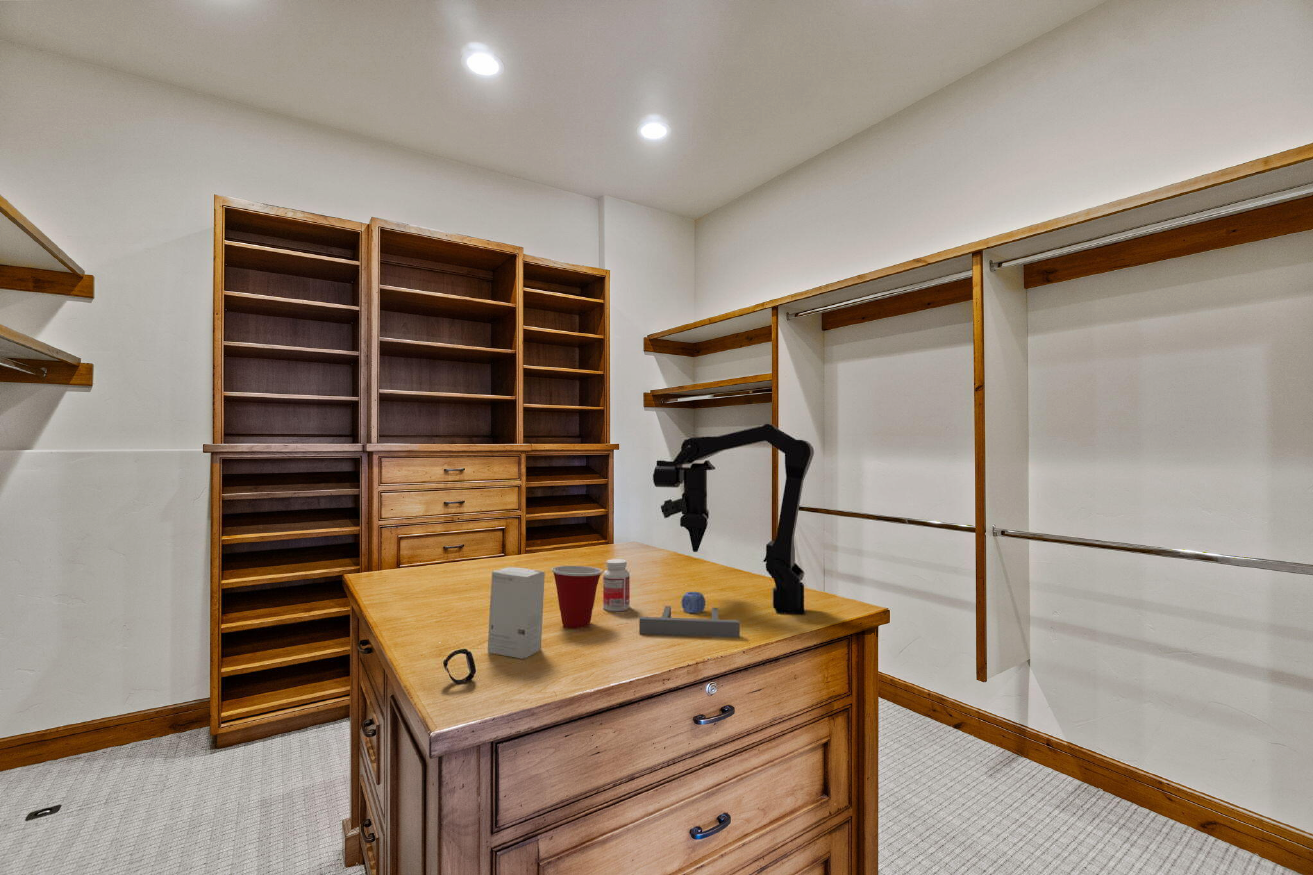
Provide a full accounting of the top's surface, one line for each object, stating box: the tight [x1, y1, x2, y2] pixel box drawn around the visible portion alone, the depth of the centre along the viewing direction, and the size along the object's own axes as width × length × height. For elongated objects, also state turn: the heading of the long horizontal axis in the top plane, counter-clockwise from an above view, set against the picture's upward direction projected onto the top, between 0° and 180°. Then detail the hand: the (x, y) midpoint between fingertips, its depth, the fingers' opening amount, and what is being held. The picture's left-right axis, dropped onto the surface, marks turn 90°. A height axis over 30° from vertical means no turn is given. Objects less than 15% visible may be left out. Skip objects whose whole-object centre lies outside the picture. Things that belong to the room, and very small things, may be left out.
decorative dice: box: [681, 591, 706, 614], centre depth 130 cm, size 4×4×4 cm
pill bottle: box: [602, 558, 631, 612], centre depth 132 cm, size 6×6×11 cm
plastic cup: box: [551, 565, 604, 630], centre depth 120 cm, size 11×11×12 cm
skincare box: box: [487, 566, 546, 660], centre depth 104 cm, size 8×6×15 cm
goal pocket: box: [638, 605, 741, 639], centre depth 117 cm, size 20×10×3 cm, turn 83°
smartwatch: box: [442, 648, 477, 685], centre depth 90 cm, size 4×5×5 cm
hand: (695, 551), depth 139 cm, fingers closed
